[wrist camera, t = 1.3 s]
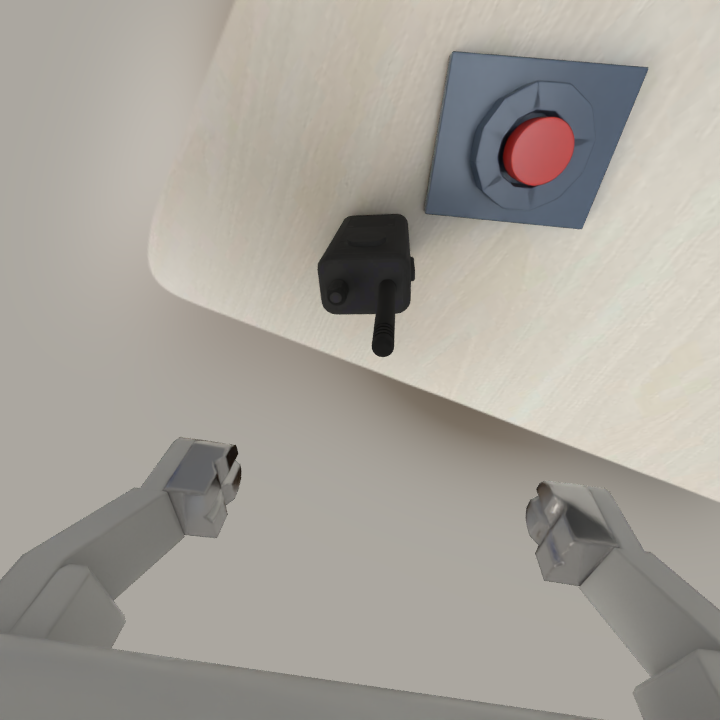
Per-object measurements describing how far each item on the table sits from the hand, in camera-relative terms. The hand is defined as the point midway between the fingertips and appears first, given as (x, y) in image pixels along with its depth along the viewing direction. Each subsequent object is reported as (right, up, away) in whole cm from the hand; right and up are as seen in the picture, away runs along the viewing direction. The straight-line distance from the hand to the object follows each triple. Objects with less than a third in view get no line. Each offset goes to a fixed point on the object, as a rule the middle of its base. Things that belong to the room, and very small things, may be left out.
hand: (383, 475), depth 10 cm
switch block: (+9, +16, +12) cm, 22 cm away
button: (+9, +15, +10) cm, 19 cm away
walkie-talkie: (+1, +12, +16) cm, 20 cm away
